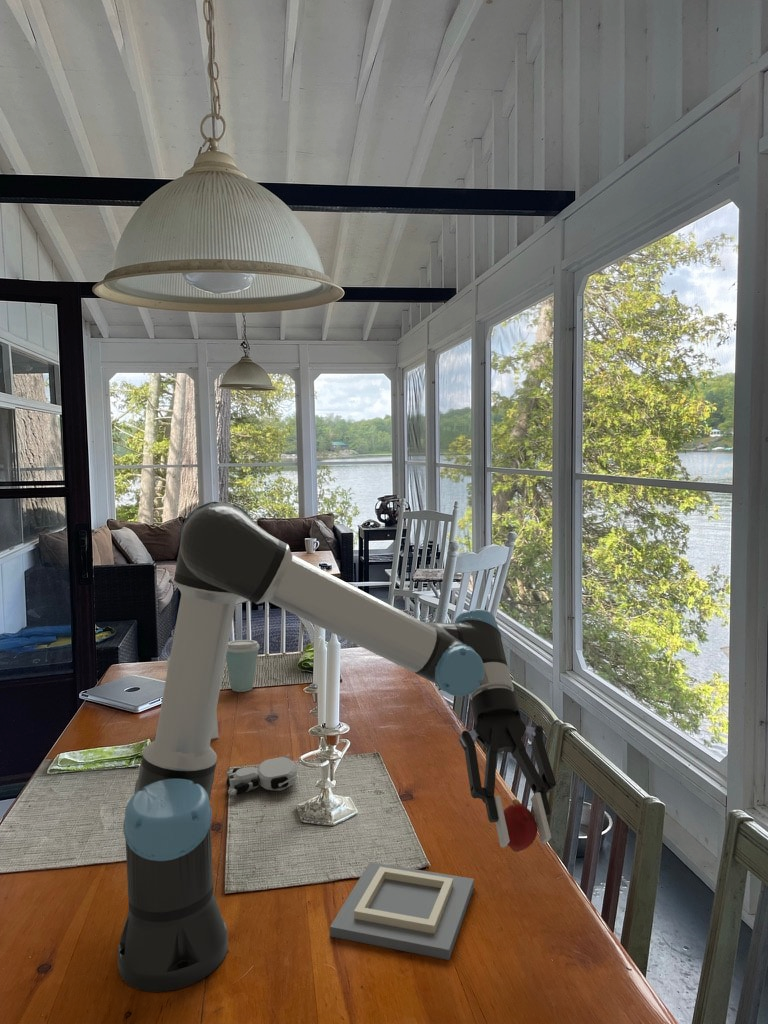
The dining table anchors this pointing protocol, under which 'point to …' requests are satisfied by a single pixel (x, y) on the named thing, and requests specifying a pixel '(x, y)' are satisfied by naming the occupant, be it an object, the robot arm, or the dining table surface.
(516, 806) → the onion
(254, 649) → the disposable coffee cup
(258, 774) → the robot toy
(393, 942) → the plate
